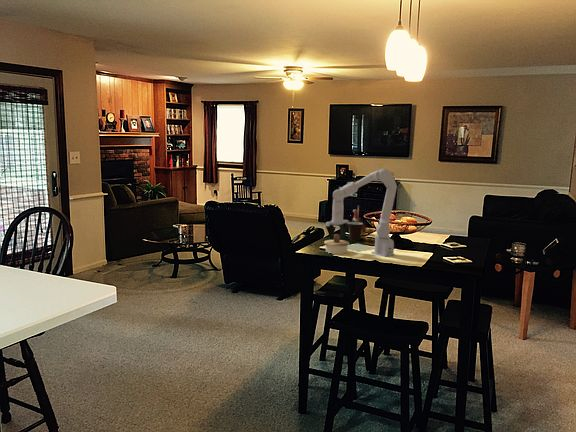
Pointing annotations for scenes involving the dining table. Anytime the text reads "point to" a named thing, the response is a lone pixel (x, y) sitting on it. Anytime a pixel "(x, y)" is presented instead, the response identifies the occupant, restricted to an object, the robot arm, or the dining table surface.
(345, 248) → the bowl
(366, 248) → the mat
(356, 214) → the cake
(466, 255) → the dining table surface
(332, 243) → the lid
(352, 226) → the coffee mug
